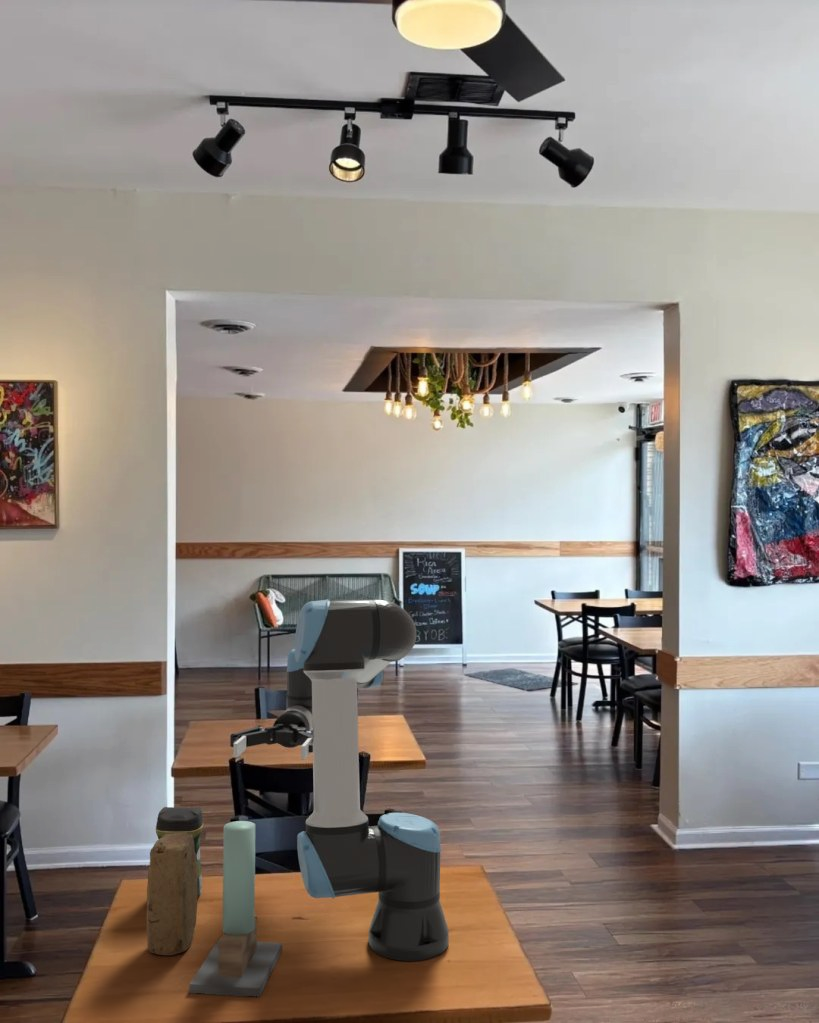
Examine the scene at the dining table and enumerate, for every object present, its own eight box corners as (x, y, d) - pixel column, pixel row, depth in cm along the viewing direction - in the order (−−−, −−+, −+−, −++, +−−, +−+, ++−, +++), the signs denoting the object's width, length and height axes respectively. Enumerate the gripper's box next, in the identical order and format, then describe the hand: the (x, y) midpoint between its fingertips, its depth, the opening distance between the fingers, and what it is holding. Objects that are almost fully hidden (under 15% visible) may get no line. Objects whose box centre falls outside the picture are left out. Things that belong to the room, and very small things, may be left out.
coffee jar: (150, 904, 185) (151, 814, 185) (160, 888, 193) (161, 802, 193) (198, 904, 185) (199, 814, 186) (205, 888, 193) (206, 802, 194)
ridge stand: (218, 947, 167) (218, 907, 167) (281, 951, 166) (282, 910, 166) (189, 993, 151) (189, 948, 151) (259, 997, 150) (259, 952, 150)
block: (182, 959, 162) (183, 848, 162) (142, 957, 163) (143, 847, 163) (201, 932, 173) (202, 828, 173) (163, 930, 174) (164, 826, 174)
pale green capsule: (259, 923, 160) (260, 822, 160) (245, 937, 155) (246, 832, 155) (231, 919, 162) (232, 819, 162) (216, 933, 156) (218, 829, 157)
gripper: (349, 745, 196) (331, 773, 175) (237, 742, 199) (207, 768, 177) (349, 711, 196) (332, 734, 175) (238, 708, 199) (207, 730, 177)
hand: (269, 751), depth 176 cm, fingers open, 13 cm apart
